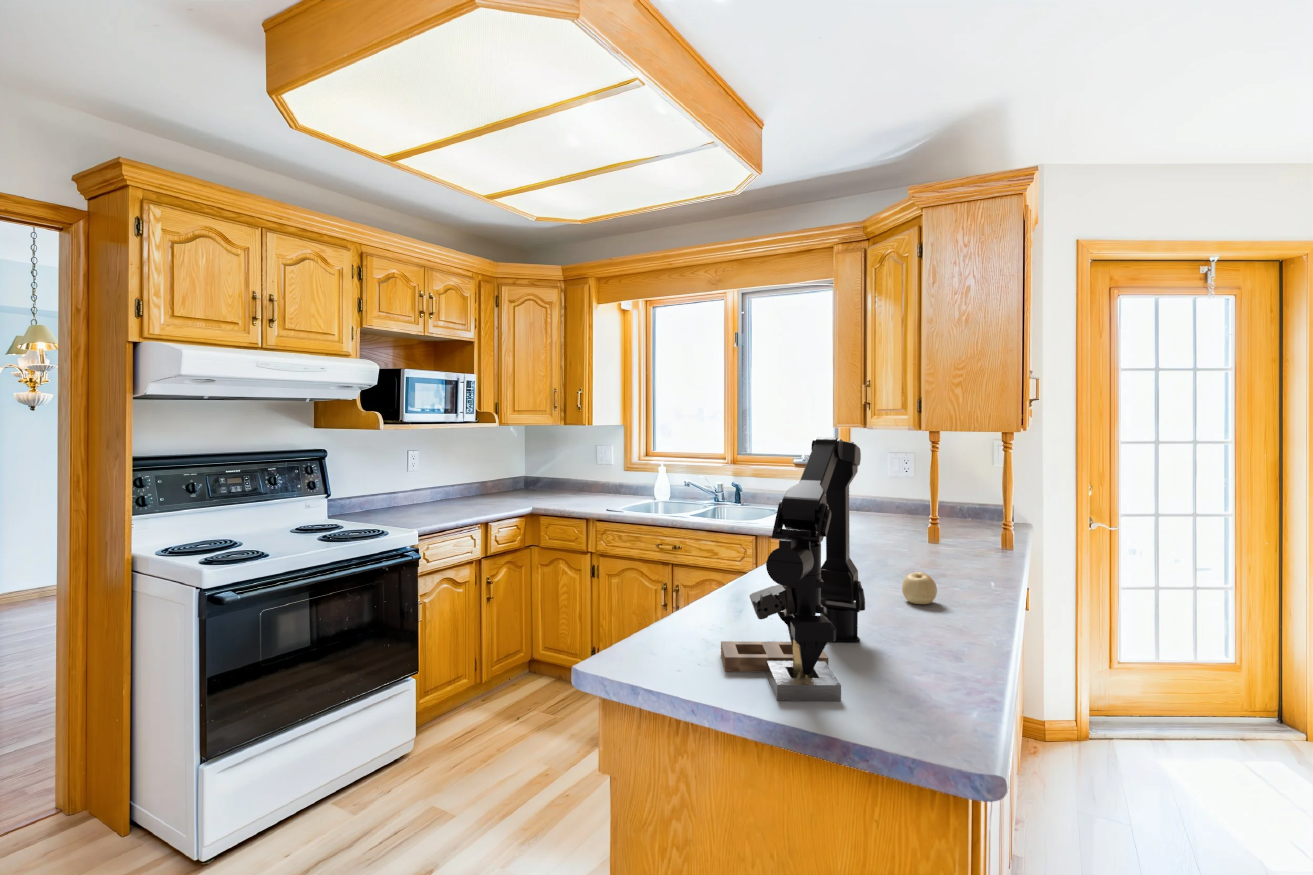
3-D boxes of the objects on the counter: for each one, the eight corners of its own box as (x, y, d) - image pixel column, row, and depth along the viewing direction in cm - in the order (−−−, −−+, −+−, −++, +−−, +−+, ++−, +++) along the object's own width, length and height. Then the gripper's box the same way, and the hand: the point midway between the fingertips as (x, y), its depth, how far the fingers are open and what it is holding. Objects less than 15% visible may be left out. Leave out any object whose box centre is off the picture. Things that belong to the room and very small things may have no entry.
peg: (809, 683, 106) (809, 630, 106) (813, 691, 103) (813, 636, 103) (791, 683, 106) (791, 630, 106) (794, 691, 103) (795, 636, 103)
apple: (933, 596, 157) (943, 574, 153) (928, 617, 151) (938, 594, 147) (901, 583, 160) (910, 561, 156) (894, 603, 154) (904, 580, 150)
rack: (817, 655, 119) (817, 641, 119) (828, 671, 111) (828, 657, 111) (720, 654, 119) (720, 641, 119) (725, 671, 111) (725, 657, 111)
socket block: (824, 675, 110) (824, 660, 110) (841, 701, 100) (841, 685, 100) (766, 675, 110) (766, 660, 110) (777, 700, 100) (777, 684, 100)
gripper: (746, 559, 114) (745, 645, 114) (762, 586, 95) (761, 690, 95) (808, 559, 113) (807, 646, 114) (837, 586, 95) (836, 690, 95)
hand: (802, 666), depth 105 cm, fingers open, 6 cm apart
